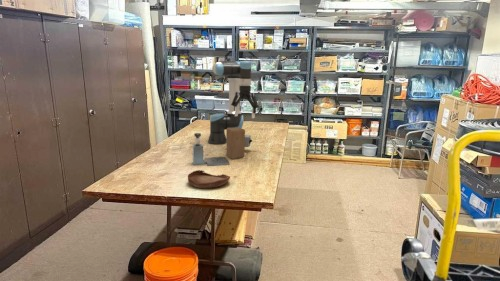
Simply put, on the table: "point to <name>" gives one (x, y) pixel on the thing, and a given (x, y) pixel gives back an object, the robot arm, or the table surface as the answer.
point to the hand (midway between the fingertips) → (244, 117)
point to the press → (209, 161)
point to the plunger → (197, 138)
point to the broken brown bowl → (206, 179)
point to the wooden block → (235, 142)
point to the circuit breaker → (247, 140)
